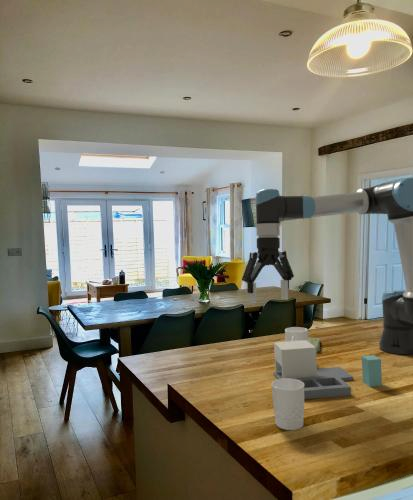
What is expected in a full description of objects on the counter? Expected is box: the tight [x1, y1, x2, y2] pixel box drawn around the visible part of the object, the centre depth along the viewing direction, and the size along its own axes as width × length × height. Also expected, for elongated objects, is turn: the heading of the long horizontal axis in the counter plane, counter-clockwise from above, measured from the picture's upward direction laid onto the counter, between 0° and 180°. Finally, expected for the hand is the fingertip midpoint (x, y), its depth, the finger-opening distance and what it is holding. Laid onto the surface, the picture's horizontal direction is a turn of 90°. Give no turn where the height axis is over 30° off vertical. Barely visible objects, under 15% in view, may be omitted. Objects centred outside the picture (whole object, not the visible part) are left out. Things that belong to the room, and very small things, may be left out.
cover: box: [273, 340, 318, 378], centre depth 126 cm, size 11×9×10 cm
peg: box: [361, 355, 383, 388], centre depth 119 cm, size 4×4×8 cm
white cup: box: [271, 378, 305, 431], centre depth 96 cm, size 8×8×10 cm
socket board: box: [292, 375, 352, 400], centre depth 116 cm, size 16×10×2 cm, turn 95°
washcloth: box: [308, 336, 322, 354], centre depth 162 cm, size 13×18×3 cm
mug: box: [284, 326, 309, 342], centre depth 142 cm, size 12×8×12 cm
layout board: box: [273, 366, 355, 382], centre depth 127 cm, size 23×10×5 cm, turn 95°
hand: (269, 301), depth 129 cm, fingers open, 13 cm apart
